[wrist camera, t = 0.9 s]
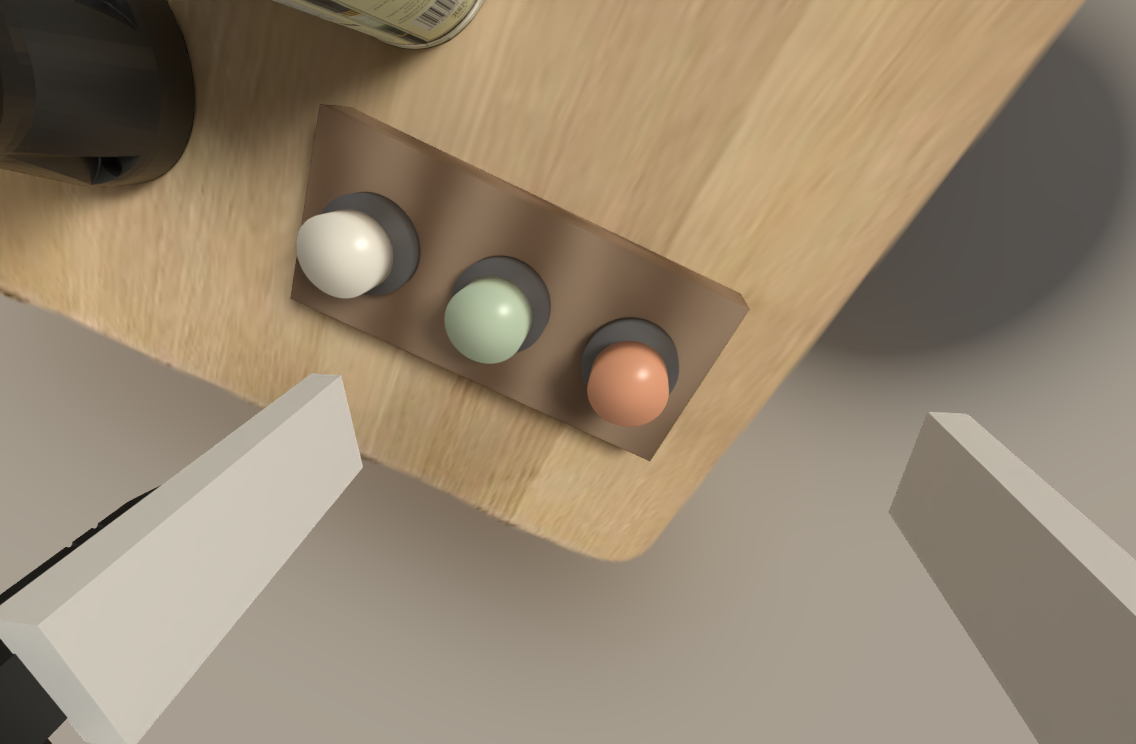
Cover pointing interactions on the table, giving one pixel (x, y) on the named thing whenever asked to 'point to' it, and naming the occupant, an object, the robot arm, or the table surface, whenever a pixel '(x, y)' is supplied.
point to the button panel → (510, 276)
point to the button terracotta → (628, 384)
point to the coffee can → (396, 18)
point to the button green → (488, 319)
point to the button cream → (344, 252)
